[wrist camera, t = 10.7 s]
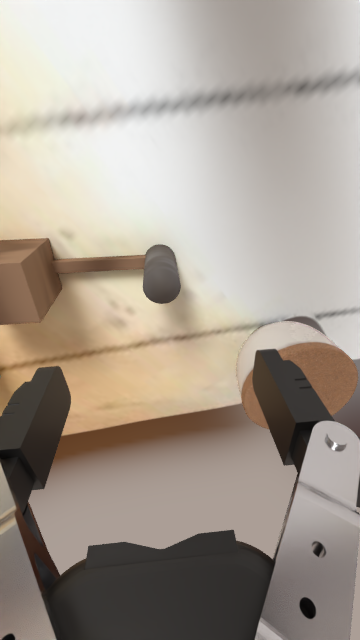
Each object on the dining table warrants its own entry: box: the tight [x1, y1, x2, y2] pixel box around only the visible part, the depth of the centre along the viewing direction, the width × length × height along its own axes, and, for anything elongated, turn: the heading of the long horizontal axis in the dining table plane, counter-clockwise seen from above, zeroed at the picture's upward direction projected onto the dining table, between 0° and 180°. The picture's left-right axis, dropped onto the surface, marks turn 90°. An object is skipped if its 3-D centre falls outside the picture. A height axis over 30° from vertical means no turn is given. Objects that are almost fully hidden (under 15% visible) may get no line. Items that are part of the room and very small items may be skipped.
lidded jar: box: [236, 321, 358, 429], centre depth 28 cm, size 11×11×9 cm
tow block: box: [0, 238, 181, 325], centre depth 23 cm, size 18×5×6 cm, turn 91°
